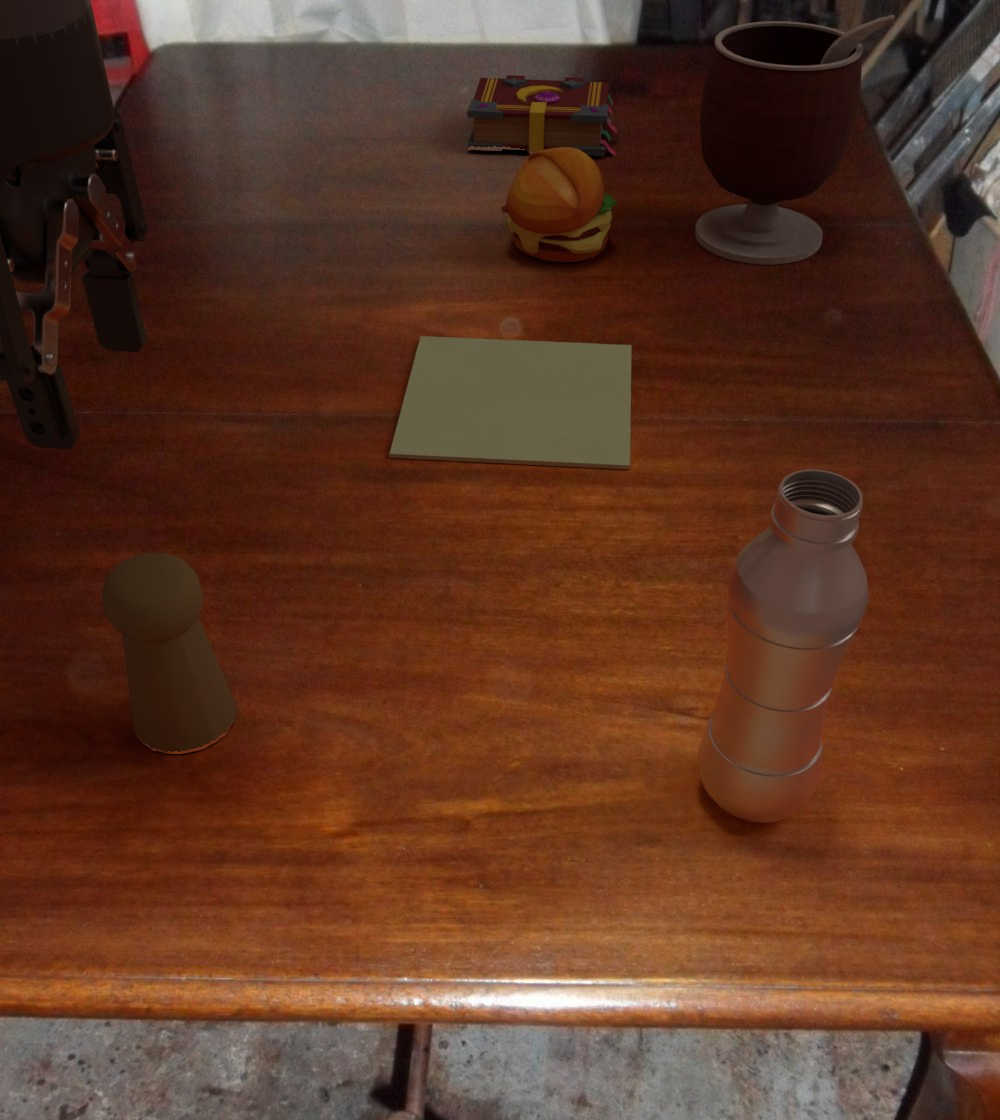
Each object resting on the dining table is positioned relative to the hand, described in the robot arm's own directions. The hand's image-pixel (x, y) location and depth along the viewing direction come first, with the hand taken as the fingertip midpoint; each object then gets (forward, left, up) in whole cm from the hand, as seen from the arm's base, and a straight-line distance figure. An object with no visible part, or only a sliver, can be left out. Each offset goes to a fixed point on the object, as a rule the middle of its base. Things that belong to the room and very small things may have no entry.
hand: (92, 393), depth 55 cm
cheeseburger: (+19, +65, -21) cm, 71 cm away
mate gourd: (+39, +69, -21) cm, 82 cm away
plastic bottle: (+33, -3, -21) cm, 40 cm away
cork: (0, 0, -21) cm, 21 cm away
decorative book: (+16, +93, -21) cm, 96 cm away
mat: (+17, +37, -21) cm, 46 cm away
